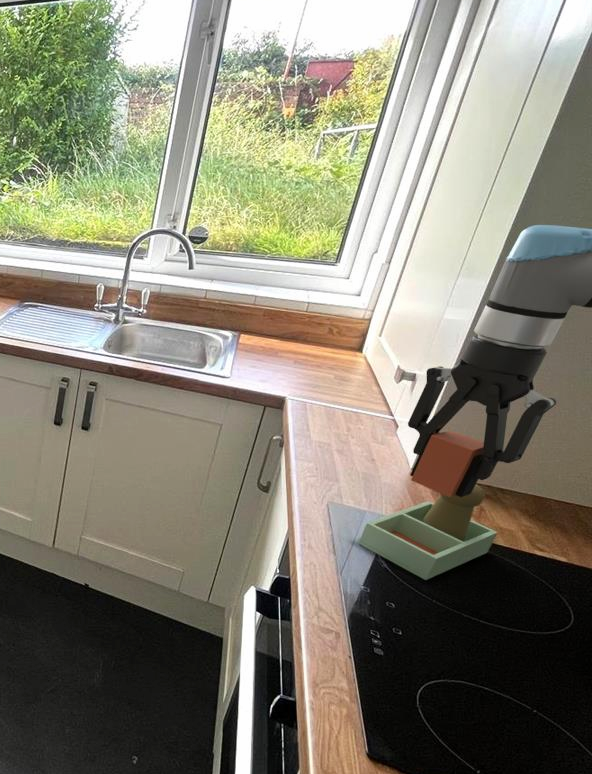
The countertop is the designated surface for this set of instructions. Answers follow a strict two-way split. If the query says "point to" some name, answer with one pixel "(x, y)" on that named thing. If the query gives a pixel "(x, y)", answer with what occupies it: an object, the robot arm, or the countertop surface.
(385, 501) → the countertop surface
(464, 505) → the cork
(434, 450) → the terracotta block
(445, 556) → the sorting tray
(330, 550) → the countertop surface
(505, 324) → the robot arm
